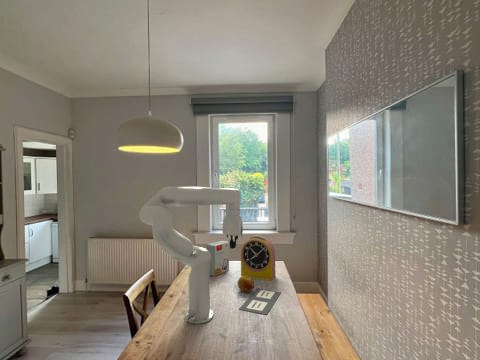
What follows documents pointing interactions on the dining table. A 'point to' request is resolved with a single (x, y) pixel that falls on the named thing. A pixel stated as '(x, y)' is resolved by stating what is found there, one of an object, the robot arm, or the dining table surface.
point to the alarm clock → (258, 258)
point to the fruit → (245, 283)
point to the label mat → (260, 301)
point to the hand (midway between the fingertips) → (232, 247)
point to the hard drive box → (219, 257)
